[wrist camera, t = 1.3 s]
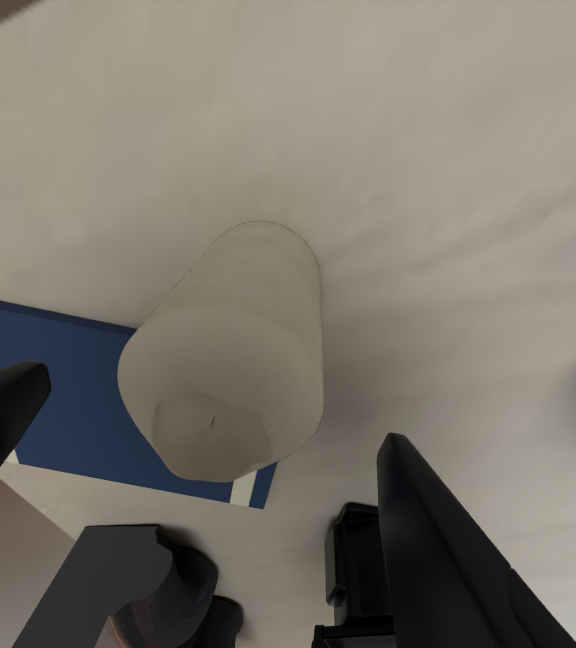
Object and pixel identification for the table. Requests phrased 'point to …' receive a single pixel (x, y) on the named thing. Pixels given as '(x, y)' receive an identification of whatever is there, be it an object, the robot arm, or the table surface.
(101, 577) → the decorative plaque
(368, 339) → the table surface
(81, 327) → the towel
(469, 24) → the table surface
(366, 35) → the table surface
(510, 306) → the table surface
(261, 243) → the candle
